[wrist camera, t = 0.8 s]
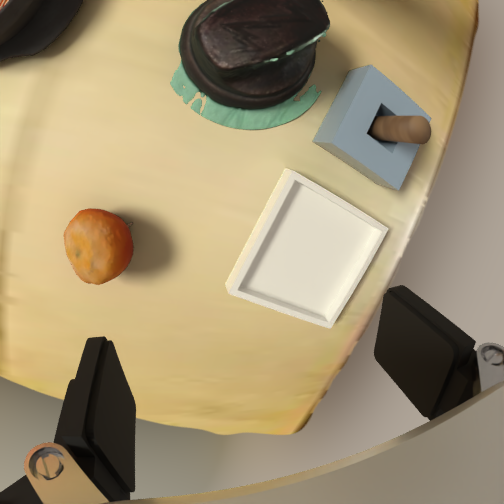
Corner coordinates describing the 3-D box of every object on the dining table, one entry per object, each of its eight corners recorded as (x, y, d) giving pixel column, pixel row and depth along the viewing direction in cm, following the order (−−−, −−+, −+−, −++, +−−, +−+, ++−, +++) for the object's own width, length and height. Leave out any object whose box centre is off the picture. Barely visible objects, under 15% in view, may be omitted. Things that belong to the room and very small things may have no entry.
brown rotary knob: (265, -41, 27) (290, -76, 19) (355, 75, 35) (399, 65, 27) (128, 35, 28) (116, 5, 19) (232, 162, 36) (250, 169, 27)
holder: (349, 70, 35) (371, 64, 30) (407, 117, 38) (431, 118, 34) (312, 141, 37) (331, 142, 32) (376, 183, 41) (398, 190, 36)
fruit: (150, 275, 36) (106, 301, 29) (101, 259, 38) (56, 280, 31) (153, 207, 34) (104, 220, 26) (102, 197, 36) (52, 208, 28)
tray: (285, 168, 37) (292, 170, 35) (378, 223, 43) (388, 228, 41) (224, 284, 40) (228, 293, 38) (323, 319, 46) (330, 328, 44)
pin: (364, 111, 36) (416, 109, 27) (381, 124, 37) (434, 126, 28) (355, 131, 37) (406, 133, 27) (372, 143, 38) (424, 149, 28)
